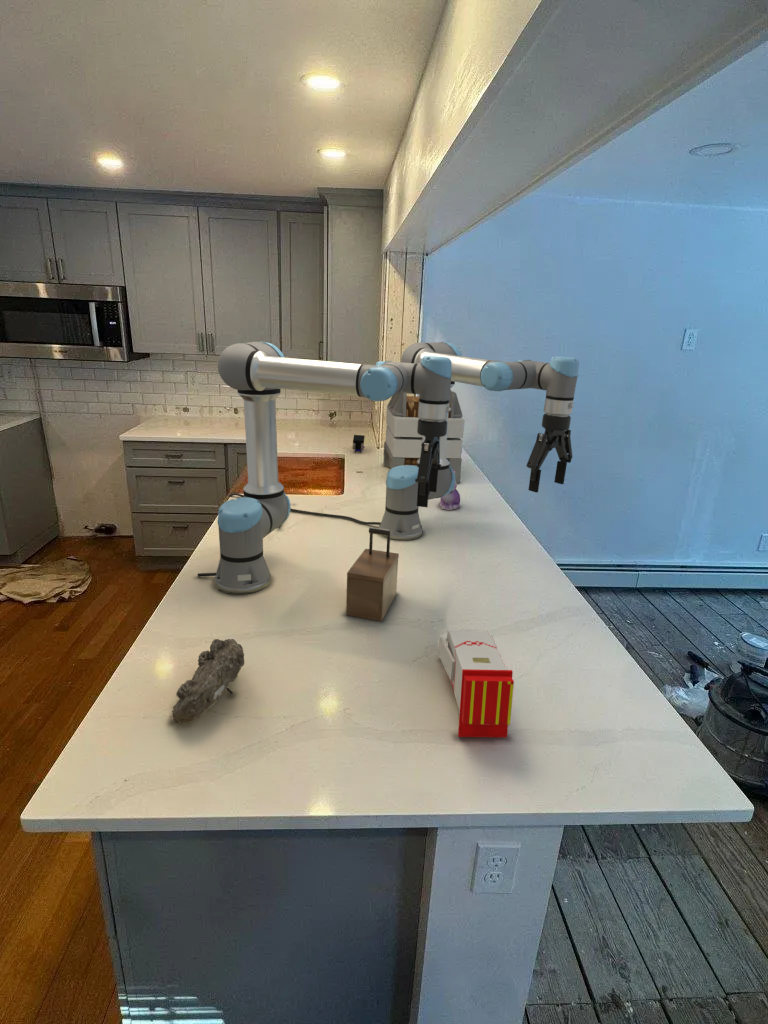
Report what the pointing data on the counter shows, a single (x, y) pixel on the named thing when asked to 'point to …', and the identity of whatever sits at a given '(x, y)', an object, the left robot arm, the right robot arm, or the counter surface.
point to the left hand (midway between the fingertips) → (426, 498)
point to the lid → (374, 560)
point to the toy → (478, 682)
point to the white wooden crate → (406, 440)
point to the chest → (371, 596)
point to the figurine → (451, 499)
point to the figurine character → (358, 442)
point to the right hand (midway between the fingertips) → (546, 487)
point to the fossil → (209, 680)
